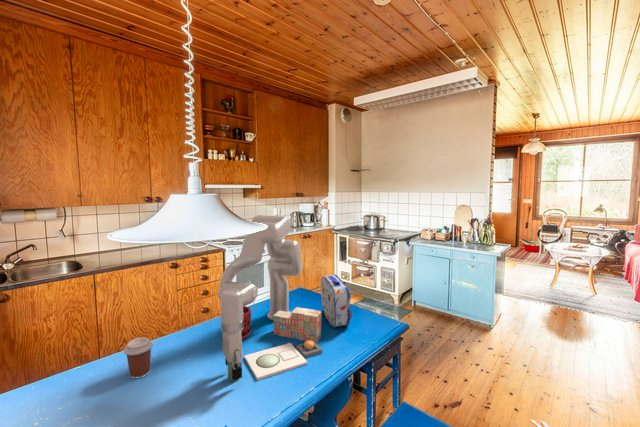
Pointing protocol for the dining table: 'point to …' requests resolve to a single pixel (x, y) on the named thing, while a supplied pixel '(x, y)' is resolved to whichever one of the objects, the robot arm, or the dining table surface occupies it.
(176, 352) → the dining table surface
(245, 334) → the plant pot
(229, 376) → the marker
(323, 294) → the lunch box
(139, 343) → the coffee cup
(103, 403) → the dining table surface
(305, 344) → the button
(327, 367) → the dining table surface
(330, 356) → the dining table surface
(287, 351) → the activity sheet
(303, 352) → the button housing
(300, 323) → the stack of blocks
